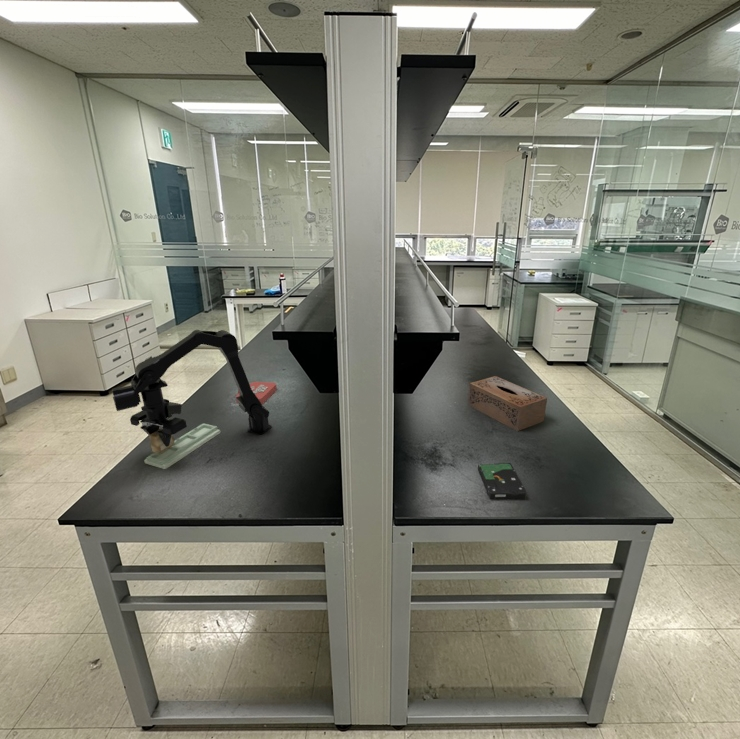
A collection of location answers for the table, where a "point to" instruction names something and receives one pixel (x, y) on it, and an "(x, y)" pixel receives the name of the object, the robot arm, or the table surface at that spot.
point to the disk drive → (501, 481)
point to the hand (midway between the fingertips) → (163, 444)
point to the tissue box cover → (507, 402)
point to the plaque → (262, 390)
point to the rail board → (183, 446)
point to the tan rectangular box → (159, 442)
